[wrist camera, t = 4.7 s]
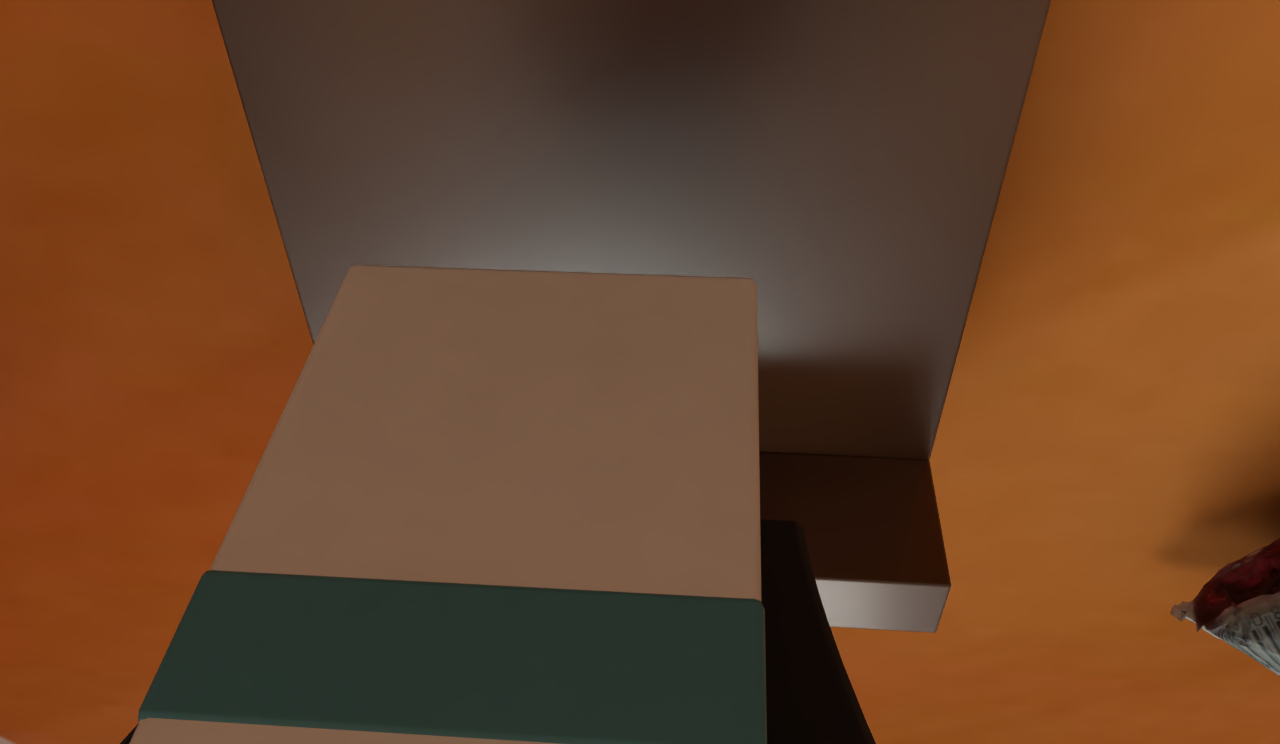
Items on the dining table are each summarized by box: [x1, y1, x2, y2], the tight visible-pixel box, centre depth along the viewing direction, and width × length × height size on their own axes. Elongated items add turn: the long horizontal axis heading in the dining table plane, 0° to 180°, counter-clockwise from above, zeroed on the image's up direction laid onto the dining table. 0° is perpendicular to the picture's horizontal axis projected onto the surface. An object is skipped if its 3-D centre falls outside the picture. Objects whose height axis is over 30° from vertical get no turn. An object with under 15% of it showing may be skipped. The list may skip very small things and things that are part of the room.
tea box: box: [129, 265, 767, 744], centre depth 10 cm, size 4×7×6 cm, turn 1°
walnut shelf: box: [212, 0, 1051, 633], centre depth 16 cm, size 12×18×6 cm, turn 1°
